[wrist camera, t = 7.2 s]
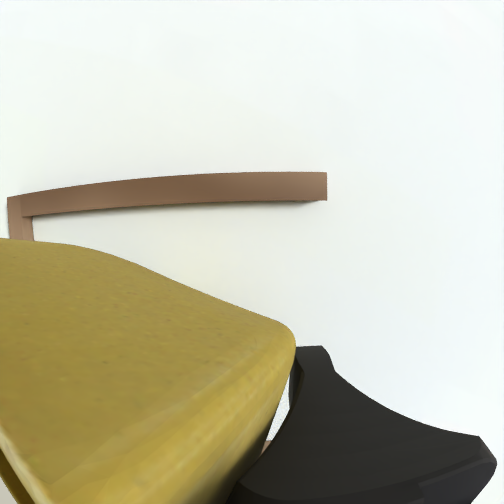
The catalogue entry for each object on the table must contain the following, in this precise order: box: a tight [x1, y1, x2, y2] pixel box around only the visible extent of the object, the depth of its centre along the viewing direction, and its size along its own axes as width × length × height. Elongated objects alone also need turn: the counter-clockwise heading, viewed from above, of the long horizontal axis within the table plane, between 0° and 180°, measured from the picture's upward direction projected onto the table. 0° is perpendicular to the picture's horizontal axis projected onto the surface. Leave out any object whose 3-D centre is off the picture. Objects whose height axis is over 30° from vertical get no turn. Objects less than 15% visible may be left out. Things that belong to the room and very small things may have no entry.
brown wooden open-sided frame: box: [7, 172, 327, 456], centre depth 12 cm, size 14×14×1 cm
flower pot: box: [0, 238, 296, 504], centre depth 7 cm, size 9×9×9 cm
